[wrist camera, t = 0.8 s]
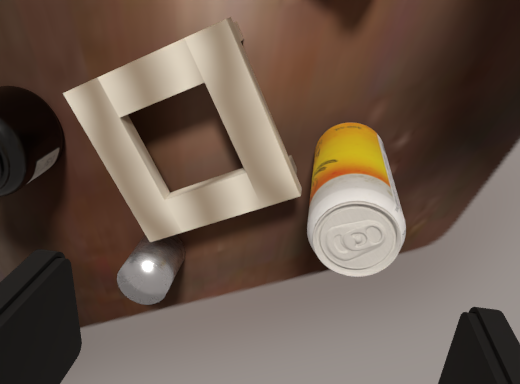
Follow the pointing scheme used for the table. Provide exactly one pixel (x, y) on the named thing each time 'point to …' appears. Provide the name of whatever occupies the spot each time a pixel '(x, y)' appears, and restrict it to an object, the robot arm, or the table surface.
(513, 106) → the table surface
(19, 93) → the ink bottle
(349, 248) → the beer can
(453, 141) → the table surface
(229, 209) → the birch stand
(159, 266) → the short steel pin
